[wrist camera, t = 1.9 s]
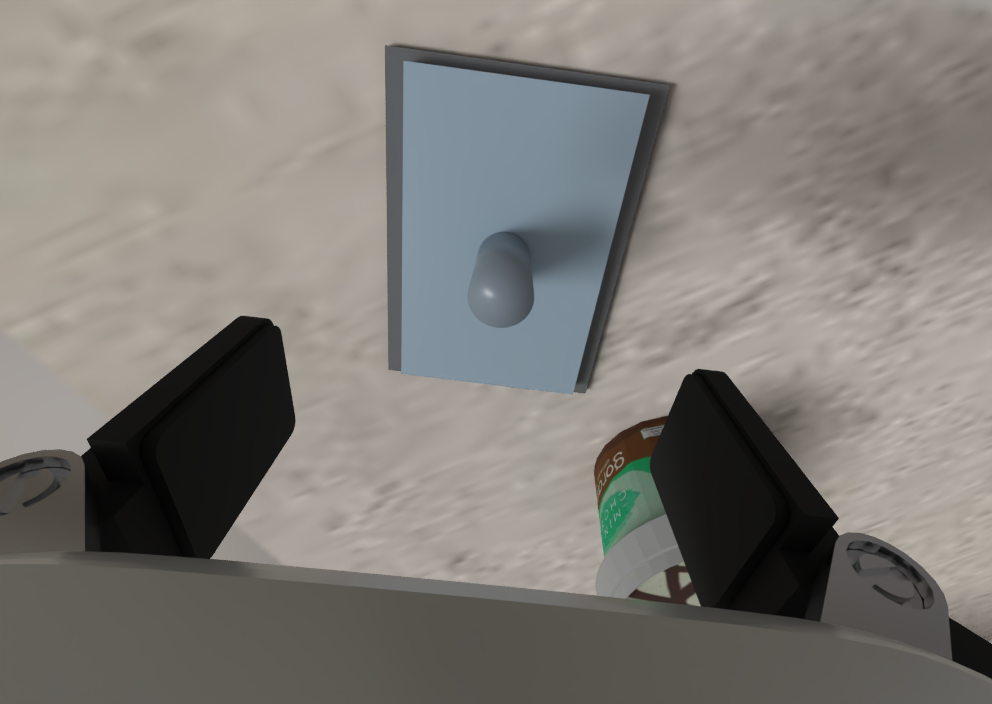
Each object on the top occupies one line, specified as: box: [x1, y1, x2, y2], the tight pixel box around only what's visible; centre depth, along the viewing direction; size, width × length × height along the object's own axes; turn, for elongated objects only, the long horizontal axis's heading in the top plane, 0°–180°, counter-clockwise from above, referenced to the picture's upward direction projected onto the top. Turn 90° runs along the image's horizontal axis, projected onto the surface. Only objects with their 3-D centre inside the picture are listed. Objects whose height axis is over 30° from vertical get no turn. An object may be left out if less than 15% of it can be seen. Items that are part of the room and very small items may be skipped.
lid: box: [401, 61, 650, 394], centre depth 19 cm, size 10×15×6 cm, turn 173°
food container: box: [594, 416, 701, 606], centre depth 25 cm, size 12×6×10 cm, turn 178°
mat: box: [385, 45, 670, 393], centre depth 22 cm, size 12×16×1 cm
